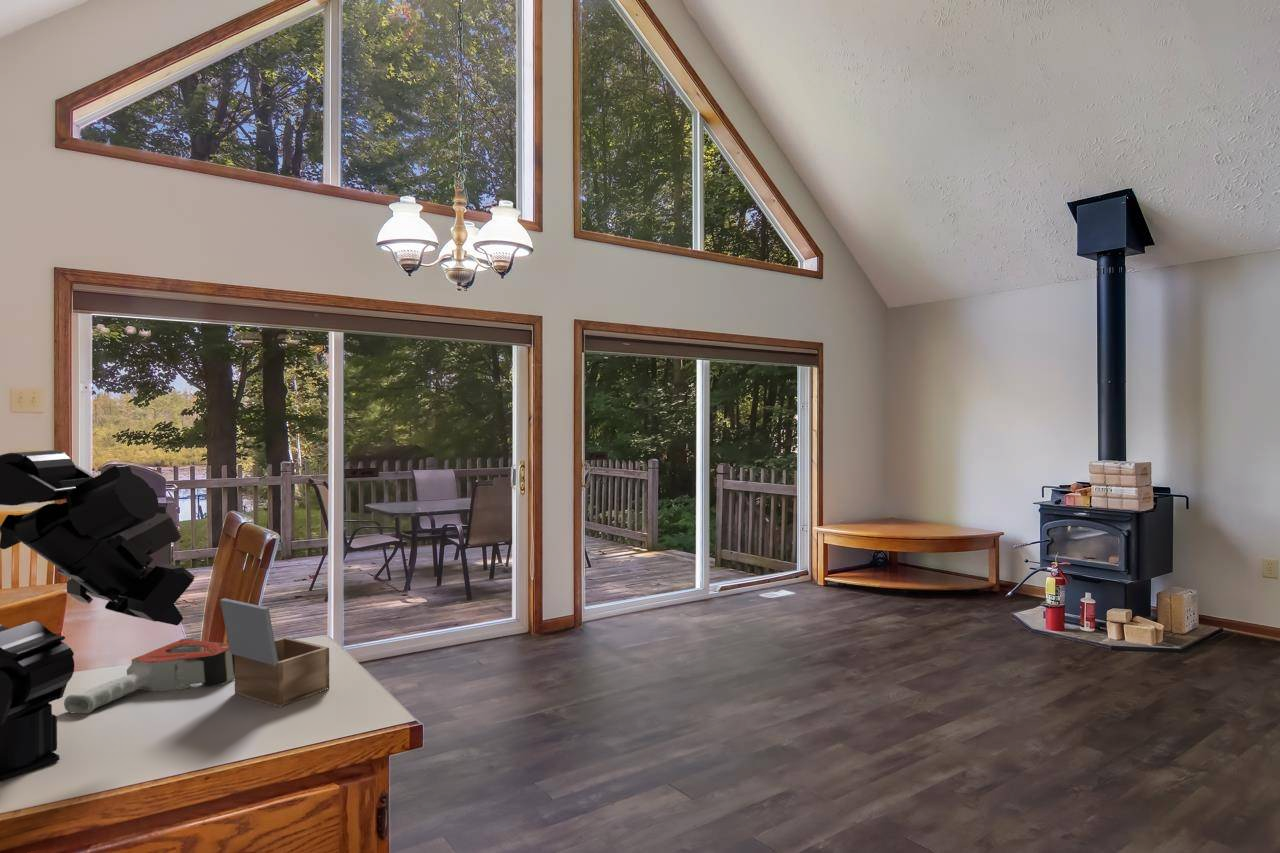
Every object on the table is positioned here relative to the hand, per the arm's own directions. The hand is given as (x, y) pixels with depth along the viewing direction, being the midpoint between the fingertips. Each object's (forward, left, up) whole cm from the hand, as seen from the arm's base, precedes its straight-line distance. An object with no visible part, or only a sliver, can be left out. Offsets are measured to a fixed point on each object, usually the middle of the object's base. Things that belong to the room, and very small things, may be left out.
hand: (179, 621), depth 98 cm
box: (+14, 0, -13) cm, 20 cm away
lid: (+10, 0, -3) cm, 10 cm away
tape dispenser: (+7, +17, -14) cm, 23 cm away
